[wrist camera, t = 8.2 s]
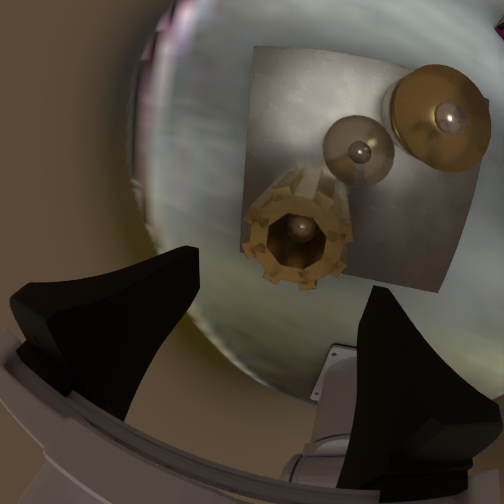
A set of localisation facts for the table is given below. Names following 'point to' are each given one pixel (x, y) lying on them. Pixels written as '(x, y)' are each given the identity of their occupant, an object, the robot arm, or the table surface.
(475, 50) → the table surface
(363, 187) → the plate
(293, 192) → the gear
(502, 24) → the candy bar box
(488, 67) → the table surface
